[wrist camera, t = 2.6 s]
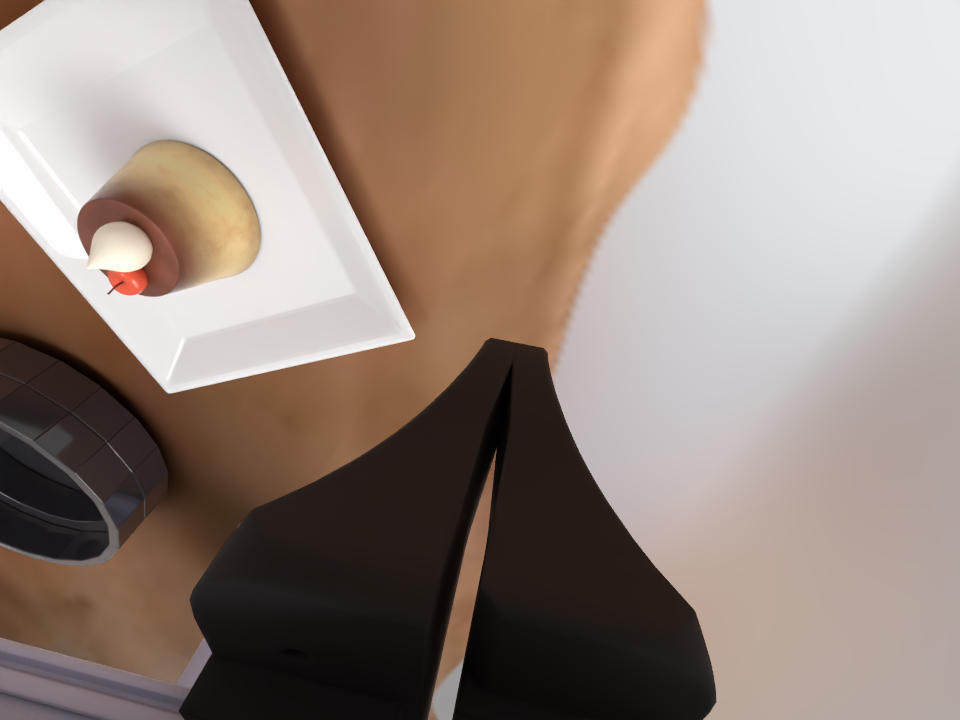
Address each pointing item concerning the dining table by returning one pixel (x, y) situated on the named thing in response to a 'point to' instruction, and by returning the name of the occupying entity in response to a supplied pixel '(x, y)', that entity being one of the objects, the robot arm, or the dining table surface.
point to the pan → (69, 462)
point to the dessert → (185, 189)
